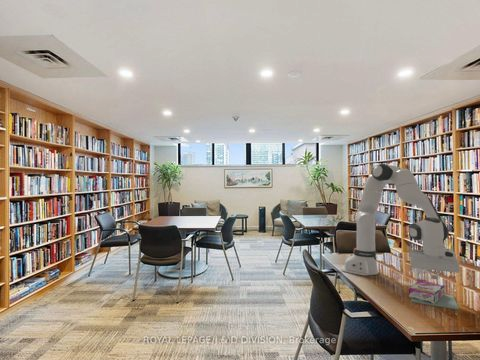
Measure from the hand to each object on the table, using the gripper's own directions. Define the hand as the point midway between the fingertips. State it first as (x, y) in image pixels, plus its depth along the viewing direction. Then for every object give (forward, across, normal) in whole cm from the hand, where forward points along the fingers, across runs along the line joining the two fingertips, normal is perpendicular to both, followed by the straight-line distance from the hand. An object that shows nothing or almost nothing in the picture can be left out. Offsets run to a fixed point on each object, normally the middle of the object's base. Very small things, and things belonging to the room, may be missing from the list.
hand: (434, 278), depth 137 cm
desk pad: (+9, -1, -3) cm, 10 cm away
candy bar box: (+6, -1, +7) cm, 9 cm away
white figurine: (+9, -5, +28) cm, 30 cm away
